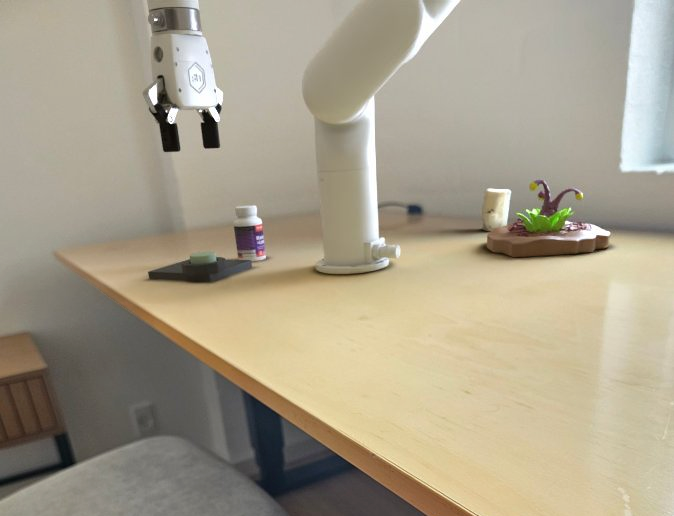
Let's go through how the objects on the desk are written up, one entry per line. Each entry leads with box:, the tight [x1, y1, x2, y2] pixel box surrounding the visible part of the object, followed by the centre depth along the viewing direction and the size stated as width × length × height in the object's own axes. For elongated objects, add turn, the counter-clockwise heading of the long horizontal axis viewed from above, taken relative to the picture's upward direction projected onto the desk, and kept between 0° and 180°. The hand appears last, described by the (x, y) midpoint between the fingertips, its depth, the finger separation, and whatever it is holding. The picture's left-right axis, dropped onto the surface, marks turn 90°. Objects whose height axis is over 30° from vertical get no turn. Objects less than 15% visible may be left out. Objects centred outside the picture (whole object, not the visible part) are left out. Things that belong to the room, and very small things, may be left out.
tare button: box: [189, 251, 217, 264], centre depth 112 cm, size 4×4×2 cm
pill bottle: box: [233, 204, 267, 262], centre depth 125 cm, size 5×5×10 cm
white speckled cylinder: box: [481, 188, 512, 232], centre depth 136 cm, size 6×5×8 cm
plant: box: [486, 179, 611, 258], centre depth 115 cm, size 20×20×11 cm
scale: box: [147, 256, 253, 283], centre depth 116 cm, size 15×13×3 cm
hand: (192, 149), depth 107 cm, fingers open, 9 cm apart
